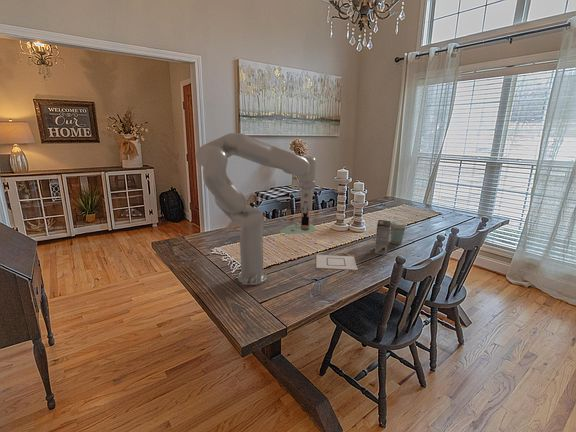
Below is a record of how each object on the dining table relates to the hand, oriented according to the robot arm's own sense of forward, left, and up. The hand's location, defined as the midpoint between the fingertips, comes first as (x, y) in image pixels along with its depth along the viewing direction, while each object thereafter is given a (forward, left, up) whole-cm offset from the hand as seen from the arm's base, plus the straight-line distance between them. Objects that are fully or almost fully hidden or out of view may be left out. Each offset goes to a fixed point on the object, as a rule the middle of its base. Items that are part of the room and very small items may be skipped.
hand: (305, 223), depth 141 cm
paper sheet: (+3, -15, -20) cm, 26 cm away
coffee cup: (+34, -51, -21) cm, 65 cm away
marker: (0, 0, -3) cm, 3 cm away
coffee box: (+20, -40, -21) cm, 50 cm away
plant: (+52, +7, -21) cm, 57 cm away
